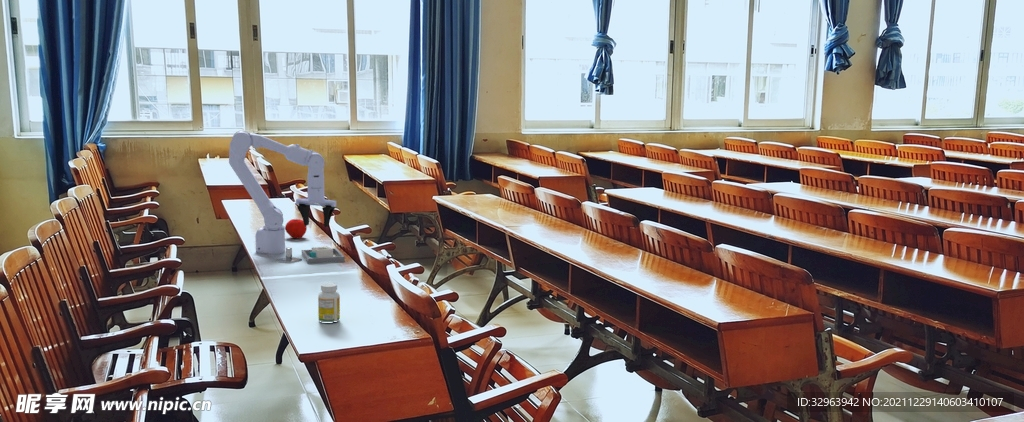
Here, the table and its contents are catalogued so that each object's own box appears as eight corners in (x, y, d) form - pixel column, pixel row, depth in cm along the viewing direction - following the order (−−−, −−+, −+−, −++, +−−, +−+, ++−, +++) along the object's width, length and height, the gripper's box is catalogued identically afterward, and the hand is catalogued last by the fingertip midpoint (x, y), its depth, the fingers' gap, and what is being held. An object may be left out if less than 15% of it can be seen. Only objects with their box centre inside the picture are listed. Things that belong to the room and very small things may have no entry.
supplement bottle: (327, 325, 208) (326, 288, 207) (314, 321, 212) (313, 284, 210) (344, 321, 212) (343, 284, 211) (331, 316, 216) (330, 281, 214)
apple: (281, 238, 313) (280, 219, 312) (294, 235, 321) (293, 216, 319) (298, 240, 310) (298, 221, 309) (311, 237, 318) (310, 218, 316)
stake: (274, 260, 277) (274, 246, 277) (300, 258, 281) (299, 245, 280) (277, 266, 270) (277, 251, 269) (303, 264, 273) (303, 250, 272)
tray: (301, 257, 283) (301, 250, 283) (336, 254, 288) (336, 248, 288) (307, 266, 271) (307, 258, 270) (344, 263, 275) (344, 256, 275)
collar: (307, 258, 279) (307, 248, 278) (326, 256, 283) (326, 246, 282) (313, 261, 275) (313, 251, 274) (333, 259, 279) (333, 249, 278)
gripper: (291, 187, 286) (292, 226, 288) (330, 190, 283) (330, 229, 285) (301, 185, 293) (301, 223, 295) (339, 187, 289) (339, 225, 292)
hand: (316, 225), depth 290 cm, fingers open, 7 cm apart
